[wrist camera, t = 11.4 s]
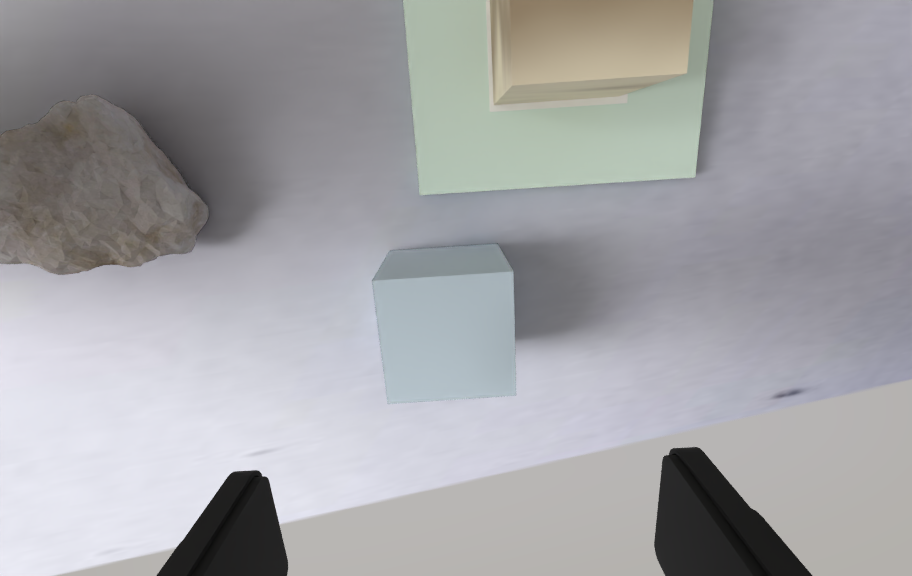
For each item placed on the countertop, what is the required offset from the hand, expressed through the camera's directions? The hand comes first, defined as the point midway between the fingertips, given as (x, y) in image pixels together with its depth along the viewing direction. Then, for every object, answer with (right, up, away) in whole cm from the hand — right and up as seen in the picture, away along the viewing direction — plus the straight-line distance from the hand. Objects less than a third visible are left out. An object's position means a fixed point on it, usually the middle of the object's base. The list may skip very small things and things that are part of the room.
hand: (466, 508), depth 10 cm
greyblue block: (-1, +5, +15) cm, 15 cm away
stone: (-18, +10, +13) cm, 24 cm away
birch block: (+4, +17, +9) cm, 20 cm away
